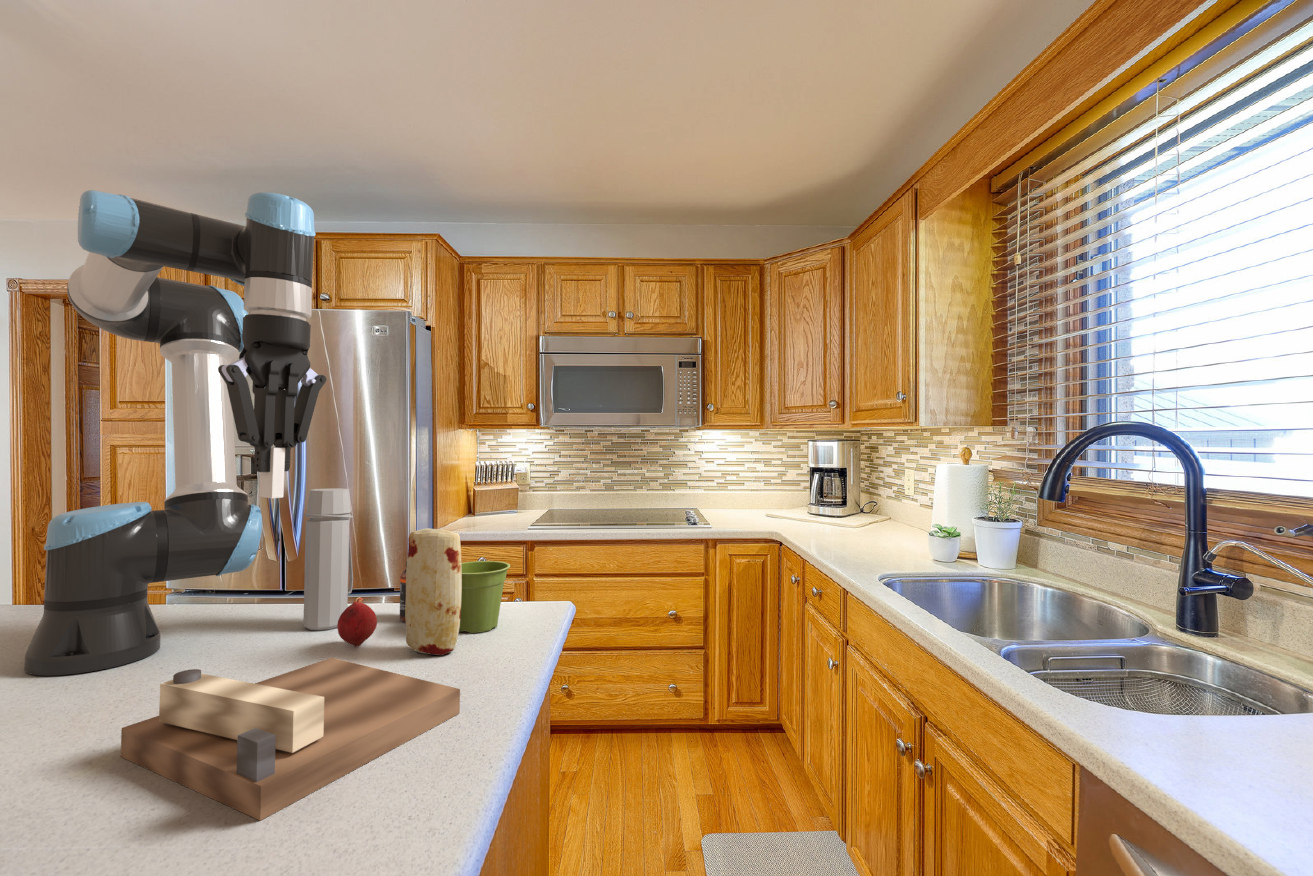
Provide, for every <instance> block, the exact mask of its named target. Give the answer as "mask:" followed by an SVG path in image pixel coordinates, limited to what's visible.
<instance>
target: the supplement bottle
mask: <svg viewBox="0 0 1313 876" xmlns="http://www.w3.org/2000/svg"><path fill="white" fill-rule="evenodd" d="M406 569H407V560H406V562H405V570H404V571H403V572H402V573H401V574H400V577H399V578H400V579H399V582H400V583H399V619H400V621H402V622H403V623H406V620H405V604H406Z"/></svg>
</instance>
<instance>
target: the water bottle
mask: <svg viewBox="0 0 1313 876" xmlns="http://www.w3.org/2000/svg"><path fill="white" fill-rule="evenodd" d="M308 492H309V493H308V501H307V507H306V513H304V516H305V518H309V519H306V521H305V541H304V542H305V545H304V547H305V548H304V583H303V584H304V588H303V624H302V625H303V627H304V628H305V629H307V630H311V631H327V630H332V629H333V630H334V629H336V628H337V624H338V620H339V617H340V615H341V614H342V613H343V612H344V611H345V609H346V608H347V607H348V602H349V601H348V600H349V599H348V597H349V596H348V595H349V594H351V593H352V591H353V584H354V573H353V570H354V569H353V558H352V545H351V544H352V543H351V534H350V532H351V531H350V521H351V518H352V519H353V518H355V517H354V516H353V515H352V514H351V512H352V507H351V497H350V496H351V495H350V494H351V493H350V488H343V487H341V488H337V487H336V488H334V487H333V488H327V487H326V488H315V489H309V491H308ZM337 629H338V628H337Z"/></svg>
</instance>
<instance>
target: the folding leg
mask: <svg viewBox="0 0 1313 876" xmlns="http://www.w3.org/2000/svg"><path fill="white" fill-rule="evenodd" d="M172 676H173V677H172V679H170V680H168V681H165V682H161V683H160V684H159V712H158V713H159V714H158V716H159V722H163V723H167V724H172V725H176V726H180V727H184V728H189V729H193V730H197V731H201V732H206V733H210V734H214V735H219V736H223V737H227V738H231V739H236V740H237V737H238V735H239V734H242V733H244V732H247V731H249V730H252V729H254V728H257V729H260V730H263V731H266V732H269V733H272V734H274V735H276V743H275V749H278V750H283V751H287V752H291V753H293V752H295V751H297V750H299V749H301V748H303V747H304V746H306V745H308V744H310V743H312V742H314V741H316V740H318V739H320V738H321V737H323V734H324V697H322V696H317V695H312V694H306V693H301V692H296V691H291V690H285V689H280V688H275V687H270V686H264V685H259V684H255V683H253V682H248V681H242V680H237V679H232V678H226V677H221V676H216V675H210V674H205V673H202V670H201V669H195V668H194V669H193V668H192V669H185V670H182V671H181V670H180V671H179V672H176V673H175V674H173V675H172Z"/></svg>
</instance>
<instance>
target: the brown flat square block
mask: <svg viewBox="0 0 1313 876" xmlns="http://www.w3.org/2000/svg"><path fill="white" fill-rule="evenodd" d="M254 684H259V685H264V686H270V687H275V688H280V689H285V690H291V691H296V692H301V693H306V694H312V695H317V696H322V697H324V734H323V737H321V738H320V739H318V740H316V741H314V742H312V743H310V744H308V745H306V746H304V747H303V748H301V749H299V750H297V751H295V752H293V753H291V752H287V751H283V750H278V749H275V743H276V735H274V734H272V733H269V732H266V731H263V730H260V729H257V728H254V729H252V730H249V731H247V732H244V733H242V734H239V735H238V737H237V740H236V739H231V738H227V737H223V736H219V735H214V734H210V733H206V732H201V731H197V730H193V729H189V728H184V727H180V726H176V725H172V724H167V723H163V722H159V715H156V716H154V717H150V718H147V719H144V720H141V721H138V722H136V723H135V722H134V723H132V724H129V725H126V726H124V727H121V733H120V734H121V735H120V736H121V737H120V740H121V741H120V757H121V758H123V759H125V760H127V761H128V762H131V763H133V764H135V765H137V766H140V767H142V768H144V769H147V770H148V771H151V772H153V773H155V774H157V775H160V776H162V777H163V778H166V779H167V780H171V781H173V782H175V783H176V784H180V785H181V786H184V787H186V788H189V789H191V790H192V791H195V792H197V793H199V794H201V795H204V796H206V797H208V798H210V799H211V800H214V801H216V802H218V803H221V804H223V805H225V806H227V807H230V808H231V809H234V810H236V811H238V812H241V813H242V814H245V815H247V816H249V817H251V818H253V819H256V820H257V821H262V820H265V819H266V818H268V817H270V816H272V815H274V814H275V813H277V812H280V811H281V810H283V809H285V808H287V807H288V806H291V805H292V804H294V803H296V802H298V801H300V800H301V799H303V798H306V797H307V796H309V795H311V794H312V793H314V792H316V791H318V790H320V789H322V788H323V787H325V786H327V785H329V784H331V783H333V782H335V781H337V780H339V779H340V778H343V777H344V776H346V775H347V774H349V773H351V772H353V771H355V770H357V769H359V768H361V767H363V766H365V765H366V764H369V763H370V762H372V761H374V760H376V759H378V758H380V757H381V756H383V755H385V754H387V753H389V752H391V751H392V750H394V749H396V748H398V747H400V746H402V745H403V744H406V743H407V742H410V741H411V740H413V739H415V738H417V737H418V736H420V735H421V734H423V733H426V732H428V731H430V730H431V729H433V728H435V727H437V726H439V725H440V724H442V723H444V722H446V721H448V720H450V719H452V718H454V717H456V716H458V715H459V714H460V712H461V711H460V709H461V706H460V705H461V702H460V701H461V689H460V688H457V687H454V686H449V685H445V684H440V683H437V682H432V681H428V680H424V679H421V678H417V677H412V676H408V675H404V674H400V673H396V672H392V671H389V670H384V669H380V668H376V667H372V666H368V665H363V664H359V663H354V662H351V661H346V660H342V659H339V658H334V657H329V658H326V659H324V660H321V661H318V662H314V663H312V664H308V665H305V666H303V667H300V668H297V669H293V670H291V671H288V672H285V673H282V674H280V675H275V676H273V677H270V678H266V679H264V680H261V681H258V682H255V683H254Z"/></svg>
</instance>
